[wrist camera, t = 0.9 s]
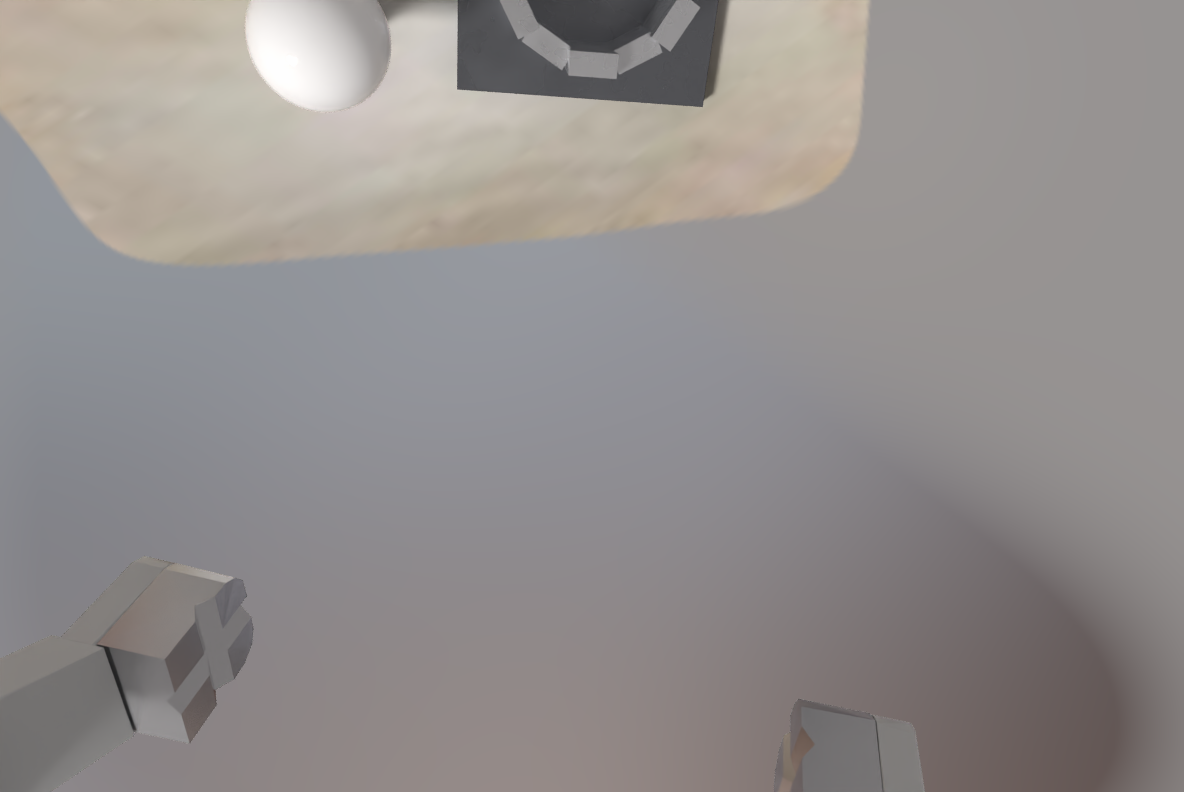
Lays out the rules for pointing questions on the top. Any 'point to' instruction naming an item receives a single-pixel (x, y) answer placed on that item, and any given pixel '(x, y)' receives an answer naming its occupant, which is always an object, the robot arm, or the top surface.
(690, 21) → the lamp socket
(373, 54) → the lightbulb
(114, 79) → the top surface
